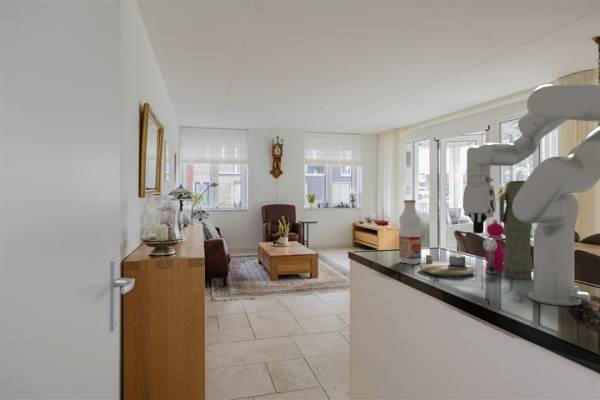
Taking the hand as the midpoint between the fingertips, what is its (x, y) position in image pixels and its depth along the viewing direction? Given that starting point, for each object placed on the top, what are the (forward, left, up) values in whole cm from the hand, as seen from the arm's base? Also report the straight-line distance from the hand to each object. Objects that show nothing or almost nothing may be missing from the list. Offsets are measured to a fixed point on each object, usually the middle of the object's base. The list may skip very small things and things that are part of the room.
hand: (478, 232), depth 131 cm
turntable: (+14, 0, -15) cm, 21 cm away
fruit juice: (+36, -3, -17) cm, 40 cm away
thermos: (-5, -15, -17) cm, 23 cm away
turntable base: (+14, 0, -17) cm, 22 cm away
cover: (+9, 0, -14) cm, 17 cm away
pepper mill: (+9, -23, -17) cm, 30 cm away
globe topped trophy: (+4, -13, -17) cm, 21 cm away
